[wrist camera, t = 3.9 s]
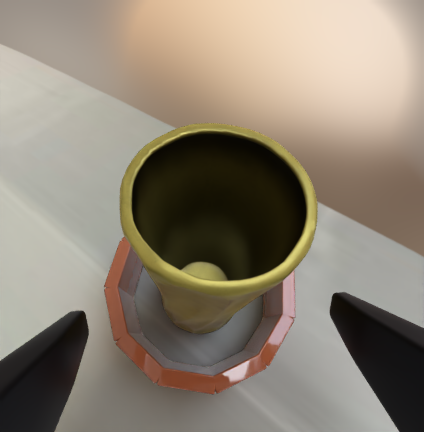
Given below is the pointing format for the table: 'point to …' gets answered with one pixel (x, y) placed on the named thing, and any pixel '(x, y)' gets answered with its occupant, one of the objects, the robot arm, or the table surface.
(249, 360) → the terracotta ring
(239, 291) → the vase
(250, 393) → the table surface
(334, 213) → the table surface
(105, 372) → the table surface
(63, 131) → the table surface
